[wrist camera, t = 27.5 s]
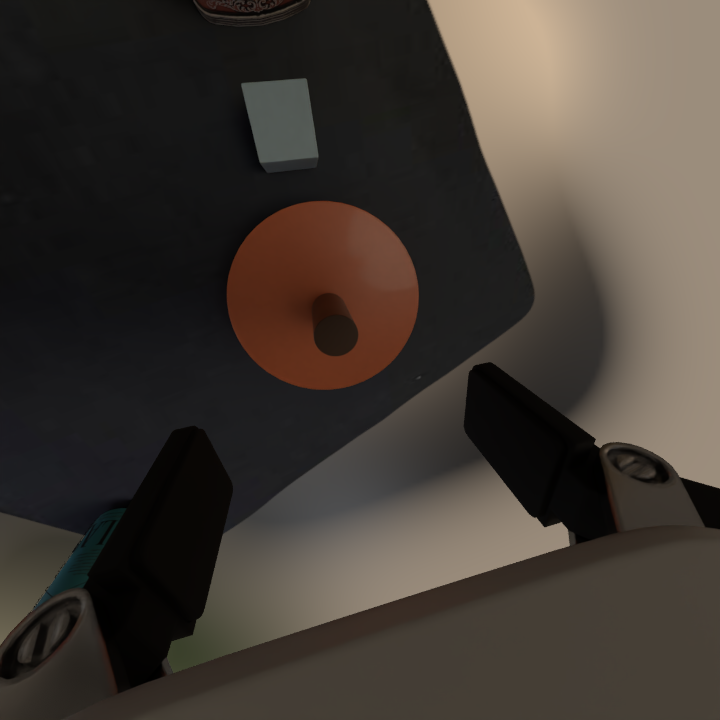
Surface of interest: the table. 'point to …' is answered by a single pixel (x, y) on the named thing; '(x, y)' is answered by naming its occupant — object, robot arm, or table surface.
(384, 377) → the table surface
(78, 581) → the beverage bottle
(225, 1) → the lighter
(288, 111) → the grey cube
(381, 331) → the lid
